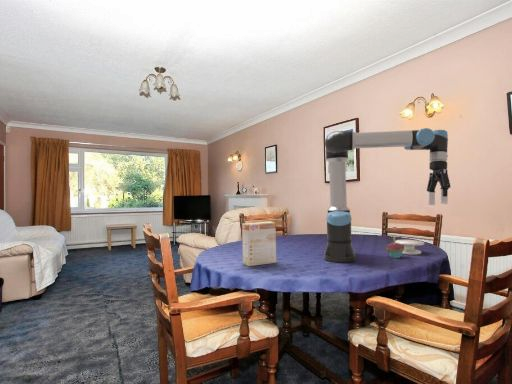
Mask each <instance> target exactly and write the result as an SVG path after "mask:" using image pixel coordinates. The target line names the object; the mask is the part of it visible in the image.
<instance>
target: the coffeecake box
mask: <svg viewBox="0 0 512 384" xmlns="http://www.w3.org/2000/svg"><path fill="white" fill-rule="evenodd" d="M241 224H242V226H241V228H242V229H241V232H242V235H241V237H242V264H243V265H245V266H246V267H253V266H259V265H266V264H267V265H269V264H277V238H276V237H277V235H276V230H277V229H276V227H277V226H276V221H270V220H269V221H257V222H255V221H254V222H253V221H252V222H242V223H241Z"/></svg>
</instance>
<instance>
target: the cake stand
mask: <svg viewBox="0 0 512 384" xmlns="http://www.w3.org/2000/svg"><path fill="white" fill-rule="evenodd" d="M395 243H398V244H401V245H402V246H404V251H403V252H402V254H403V255H408V256H409V255H410V256H412V255H413V256H414V255H417V256H418V254H419V255H421V254H422V251H421V250H419V249H415V247H417V246H419V247H420V246H425V242H424V241H422V240H416V239H415V240H414V239H397V240H396V239H395ZM402 254H401V255H402Z"/></svg>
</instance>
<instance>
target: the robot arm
mask: <svg viewBox="0 0 512 384" xmlns="http://www.w3.org/2000/svg"><path fill="white" fill-rule="evenodd" d="M448 141H449V135H448V131H447V130H445V129H435V130H432V129H431V128H428V127H425V128H424V127H423V128H421V129H415V130H414V129H413V130H389V131H366V132H365V131H364V132H355V131H354V130H335V131H332V132H330V133H329V134H328V135H326V138H325V139H324V147H325V160H326V162H328V170H329V171H328V174H329V200H330V201H329V203H330V205H329V206H330V207H329V208H328V209H327V214H326V237H327V240H326V241H327V242H326V247H325V250H324V253H323V259H324V260H325V261H328V262H334V263H353V262H355V261H356V253H355V251H354V247H353V244H352V215H351V209H350V208H349V207H348V206H347V205H348V204H347V203H348V202H347V200H348V199H347V175H346V174H347V173H346V172H347V170H346V162H347V161H348V160H349V151H350V152H351V151H354V150H355V149H374V148H401V147H402V148H404V150H406V151H417V150H418V151H423V150H424V151H429V170H430V171H432V172H429V177H428V182H427V186H426V192H428V201H427V202H428V206H435V203H436V190H435V189H436V187H437V185H438V183H439V186H440V188H439V189H440V204H442V205H443V204H444V205H447V204H448V199H449V198H448V194H449V193H448V192H449V191H448V190H450V188H451V183H450V179H449V174H448V162H447V161H448V156H449V155H448V144H449V143H448Z"/></svg>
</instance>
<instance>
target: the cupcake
mask: <svg viewBox="0 0 512 384" xmlns="http://www.w3.org/2000/svg"><path fill="white" fill-rule="evenodd" d="M392 238H393V242H391V243H388V244H386V246H385V250H387V252H388V254H389V257H390V258H394V259H400V258H401V256H402V252H403V251H404V245H401V244H398V243H395V241H396V235H395V234H393V237H392Z"/></svg>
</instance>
